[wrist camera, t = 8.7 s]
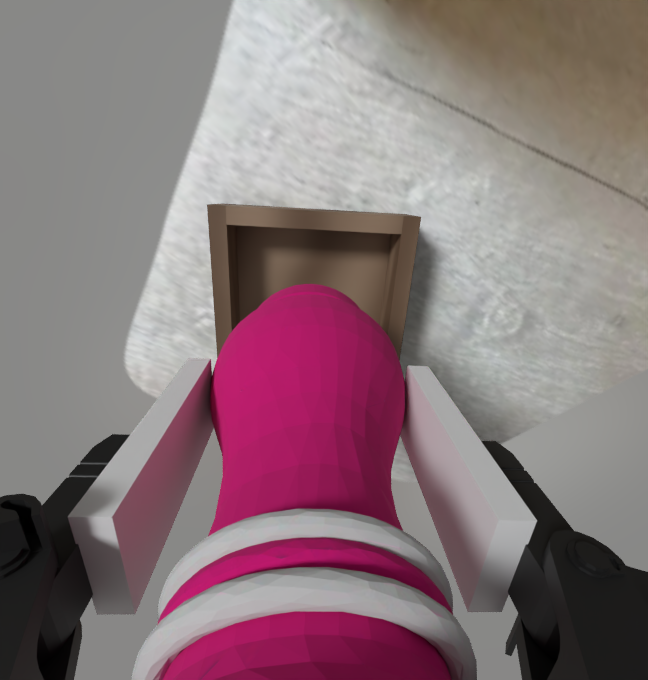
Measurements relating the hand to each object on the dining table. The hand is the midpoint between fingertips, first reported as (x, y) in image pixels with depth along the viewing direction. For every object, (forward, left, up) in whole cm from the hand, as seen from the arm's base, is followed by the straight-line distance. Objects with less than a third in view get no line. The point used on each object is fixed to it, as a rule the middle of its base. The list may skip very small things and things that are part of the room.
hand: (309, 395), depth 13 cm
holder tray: (0, 0, -13) cm, 13 cm away
